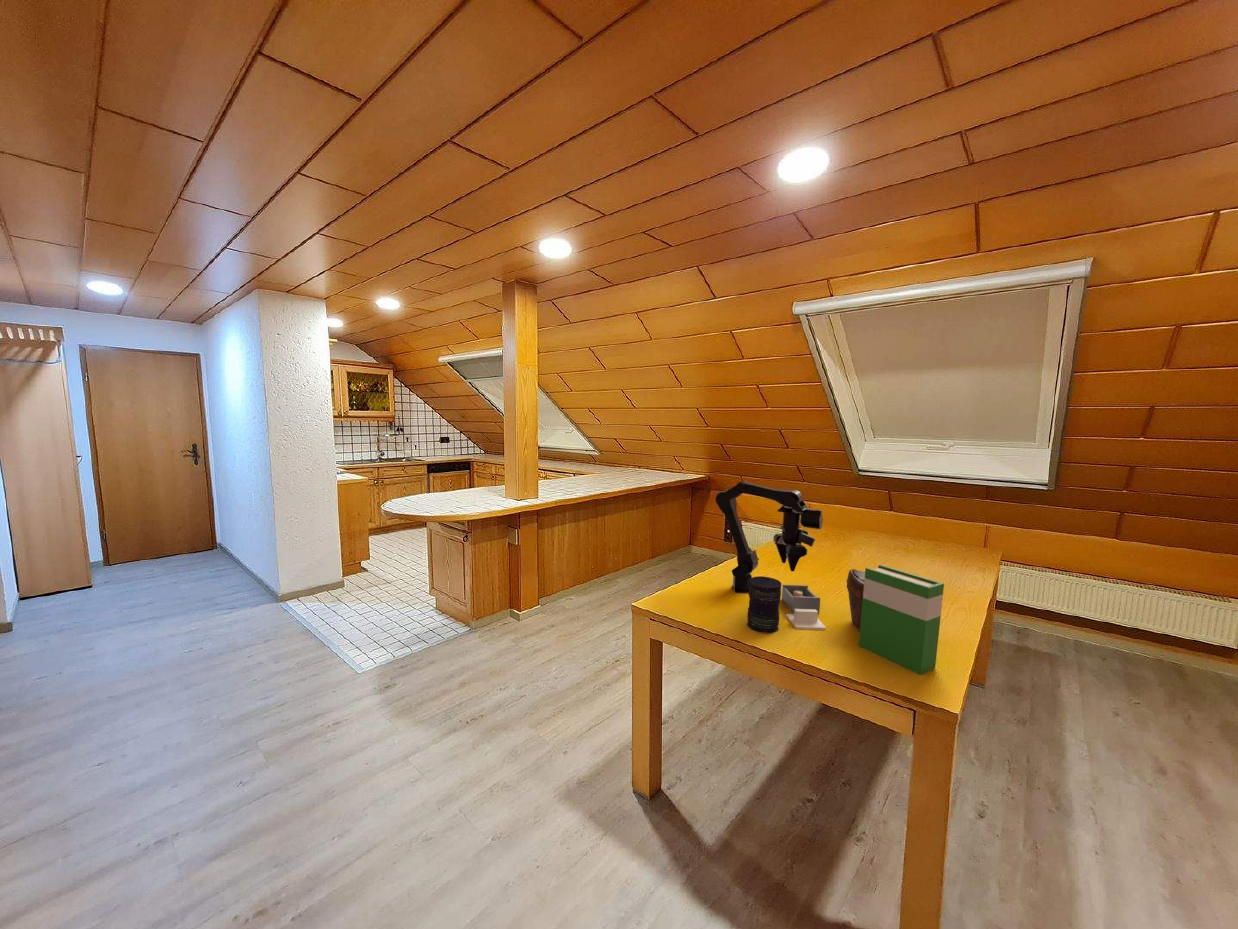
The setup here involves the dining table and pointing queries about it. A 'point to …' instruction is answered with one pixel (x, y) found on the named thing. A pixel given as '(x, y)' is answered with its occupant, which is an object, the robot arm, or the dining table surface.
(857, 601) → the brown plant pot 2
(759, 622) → the storage jar
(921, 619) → the hardback book
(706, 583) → the dining table surface
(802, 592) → the grey open box
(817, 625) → the lid
